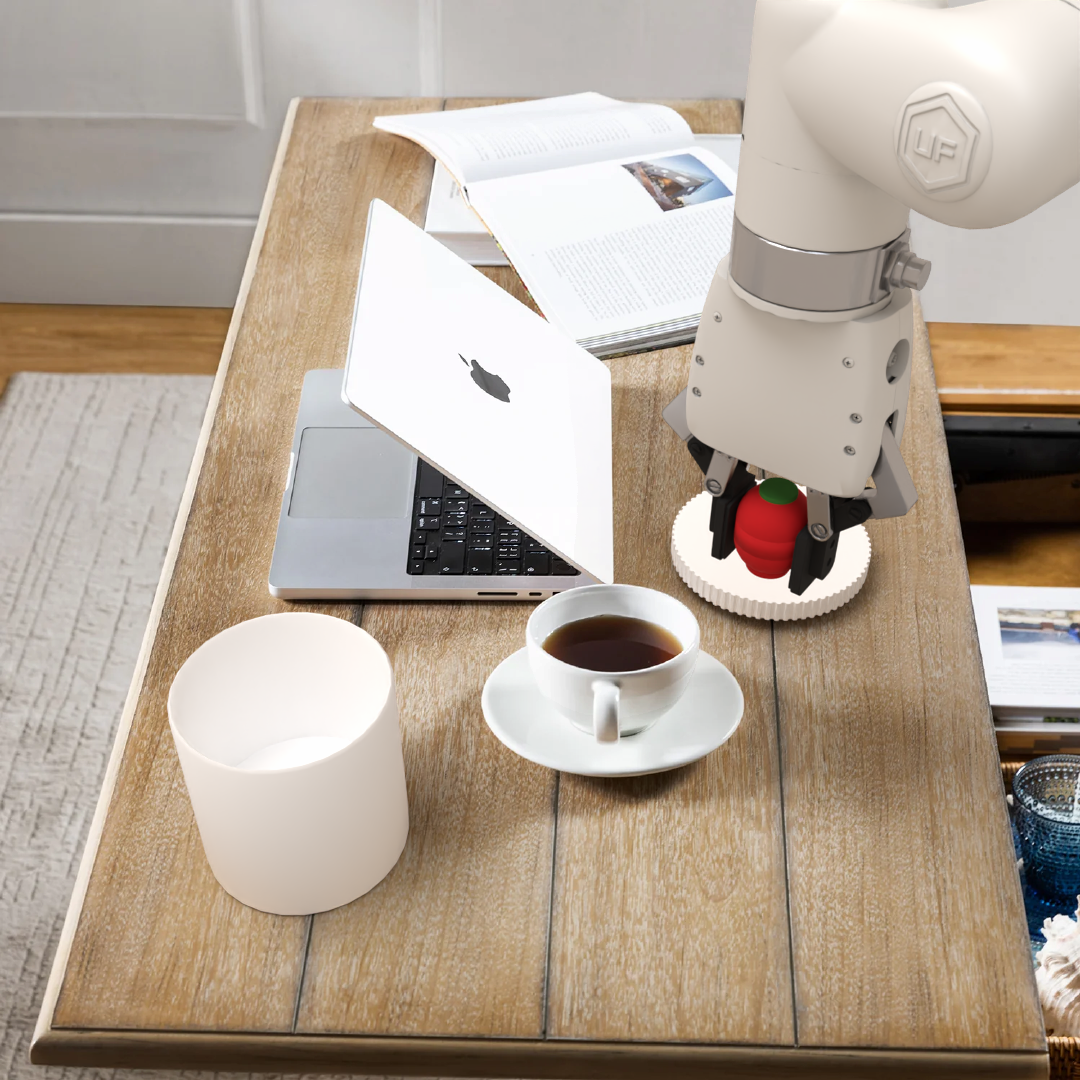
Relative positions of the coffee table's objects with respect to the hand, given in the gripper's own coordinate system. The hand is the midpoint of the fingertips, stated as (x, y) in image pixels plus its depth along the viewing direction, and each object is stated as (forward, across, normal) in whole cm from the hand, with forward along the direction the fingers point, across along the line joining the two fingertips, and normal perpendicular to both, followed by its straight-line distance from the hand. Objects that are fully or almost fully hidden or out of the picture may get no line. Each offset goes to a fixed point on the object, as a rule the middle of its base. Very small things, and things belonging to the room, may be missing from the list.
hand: (768, 560), depth 69 cm
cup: (+16, +17, +20) cm, 31 cm away
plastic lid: (+16, +7, -17) cm, 24 cm away
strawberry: (0, 0, 0) cm, 0 cm away
